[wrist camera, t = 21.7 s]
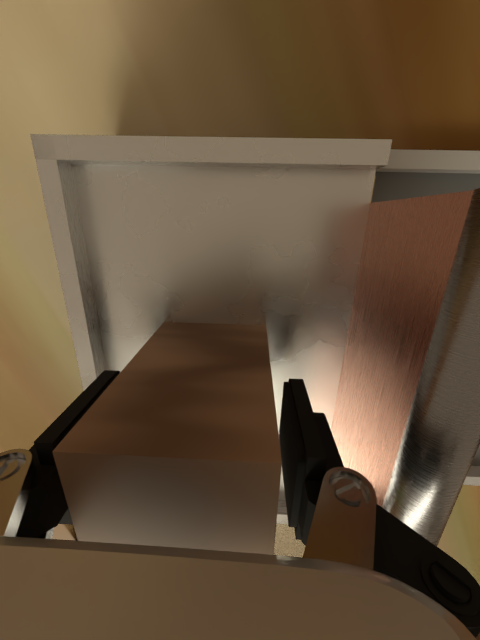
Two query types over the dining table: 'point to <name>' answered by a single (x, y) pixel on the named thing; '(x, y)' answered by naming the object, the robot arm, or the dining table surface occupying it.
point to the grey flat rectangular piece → (425, 180)
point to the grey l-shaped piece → (286, 286)
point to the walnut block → (180, 445)
